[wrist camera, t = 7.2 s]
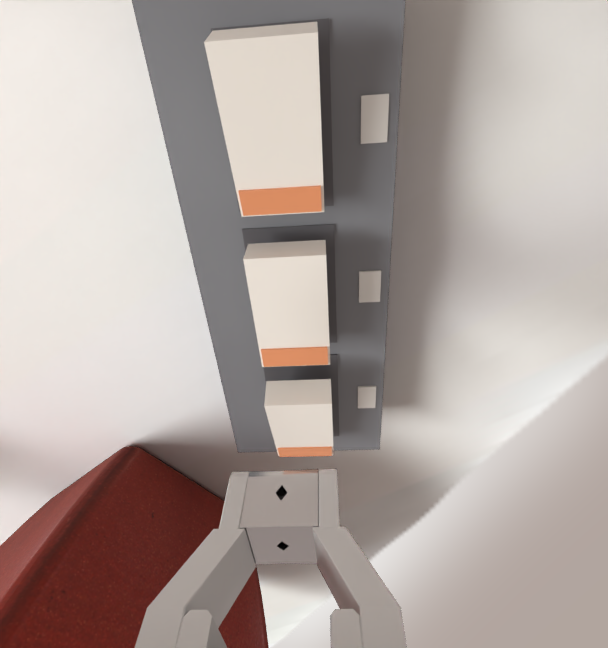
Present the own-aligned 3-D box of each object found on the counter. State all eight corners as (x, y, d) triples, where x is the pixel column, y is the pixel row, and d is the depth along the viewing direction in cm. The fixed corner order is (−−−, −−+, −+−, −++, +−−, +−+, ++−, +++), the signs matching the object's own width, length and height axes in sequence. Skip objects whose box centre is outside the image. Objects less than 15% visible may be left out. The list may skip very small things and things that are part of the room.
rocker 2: (248, 243, 16) (242, 260, 15) (325, 239, 16) (326, 256, 15) (265, 348, 19) (261, 368, 18) (329, 345, 19) (330, 366, 18)
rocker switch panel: (114, -244, 12) (48, -347, 9) (400, -281, 12) (429, -405, 9) (246, 412, 28) (237, 453, 25) (372, 409, 27) (379, 450, 24)
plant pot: (167, 581, 42) (90, 839, 28) (-4, 497, 35) (-228, 792, 20) (299, 518, 35) (288, 821, 21) (121, 395, 27) (-88, 738, 13)
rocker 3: (266, 381, 19) (263, 407, 18) (330, 378, 19) (332, 405, 18) (279, 433, 23) (278, 457, 22) (332, 432, 23) (333, 456, 22)
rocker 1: (212, 30, 12) (203, 42, 11) (317, 21, 12) (317, 33, 11) (245, 198, 16) (241, 218, 15) (323, 193, 16) (324, 213, 15)
